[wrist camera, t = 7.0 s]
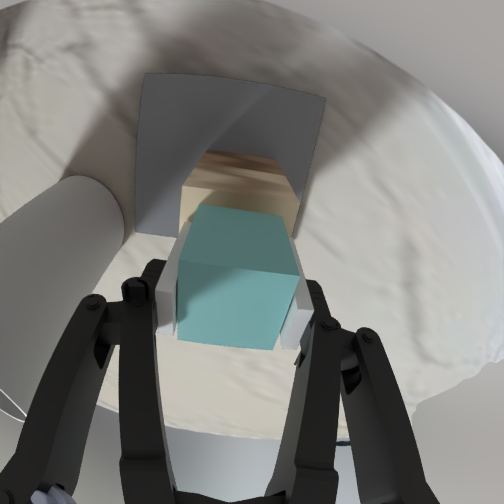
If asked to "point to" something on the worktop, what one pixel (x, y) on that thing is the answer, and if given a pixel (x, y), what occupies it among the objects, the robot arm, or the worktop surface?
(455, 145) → the worktop surface
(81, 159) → the worktop surface
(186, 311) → the teal block
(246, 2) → the worktop surface
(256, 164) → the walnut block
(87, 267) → the cylinder vase
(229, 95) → the slate board
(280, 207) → the beech block
